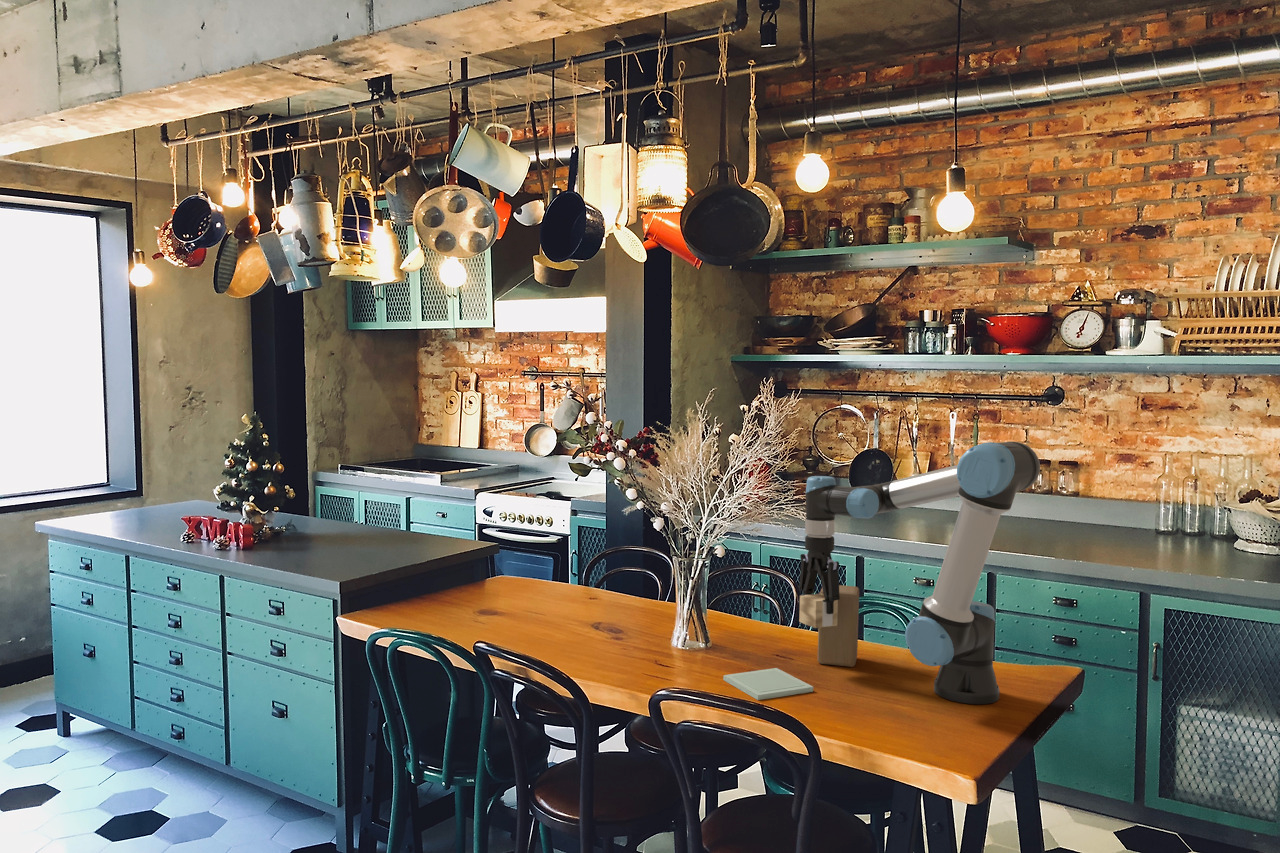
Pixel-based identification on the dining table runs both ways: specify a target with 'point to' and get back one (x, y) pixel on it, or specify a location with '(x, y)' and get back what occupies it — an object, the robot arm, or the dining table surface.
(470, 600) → the dining table surface
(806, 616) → the oak cube
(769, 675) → the plate
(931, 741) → the dining table surface
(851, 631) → the wooden block
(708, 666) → the dining table surface
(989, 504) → the robot arm
